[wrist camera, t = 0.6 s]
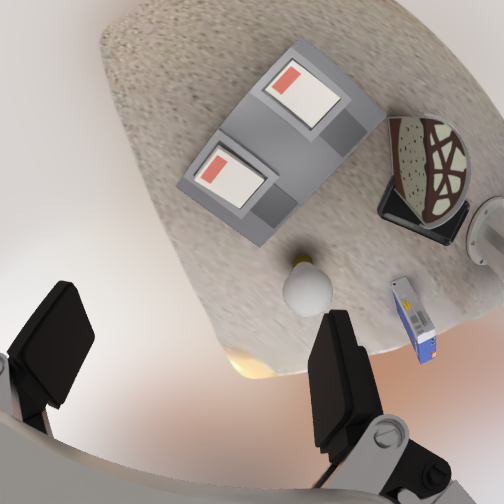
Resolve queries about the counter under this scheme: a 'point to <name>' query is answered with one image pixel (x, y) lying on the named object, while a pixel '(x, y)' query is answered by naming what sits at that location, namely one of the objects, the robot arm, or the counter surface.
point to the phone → (403, 216)
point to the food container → (429, 166)
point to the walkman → (415, 320)
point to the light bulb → (307, 288)
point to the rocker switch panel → (285, 145)
